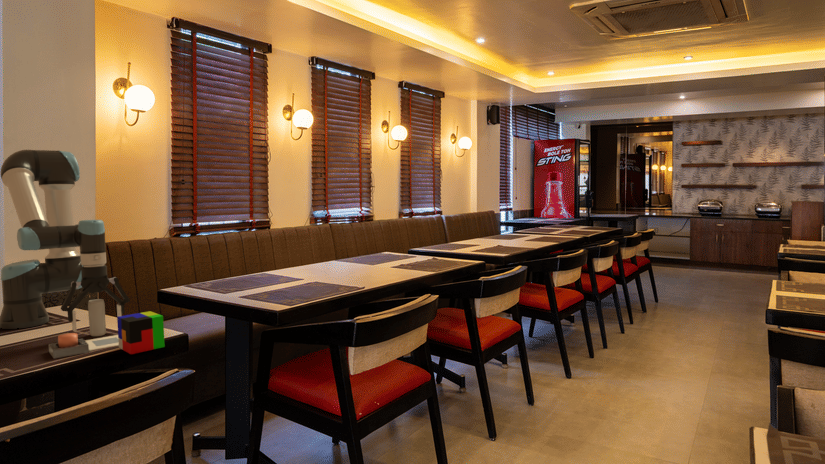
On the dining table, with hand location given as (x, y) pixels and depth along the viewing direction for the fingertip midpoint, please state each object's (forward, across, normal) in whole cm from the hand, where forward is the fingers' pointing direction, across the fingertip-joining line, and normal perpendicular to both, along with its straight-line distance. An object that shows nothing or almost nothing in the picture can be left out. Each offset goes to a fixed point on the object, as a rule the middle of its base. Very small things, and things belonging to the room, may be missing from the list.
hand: (97, 327), depth 182 cm
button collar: (+3, -11, -16) cm, 19 cm away
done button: (+1, -11, -16) cm, 19 cm away
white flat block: (+3, 0, -12) cm, 13 cm away
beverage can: (+3, 0, 0) cm, 3 cm away
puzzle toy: (+3, +7, -26) cm, 27 cm away
